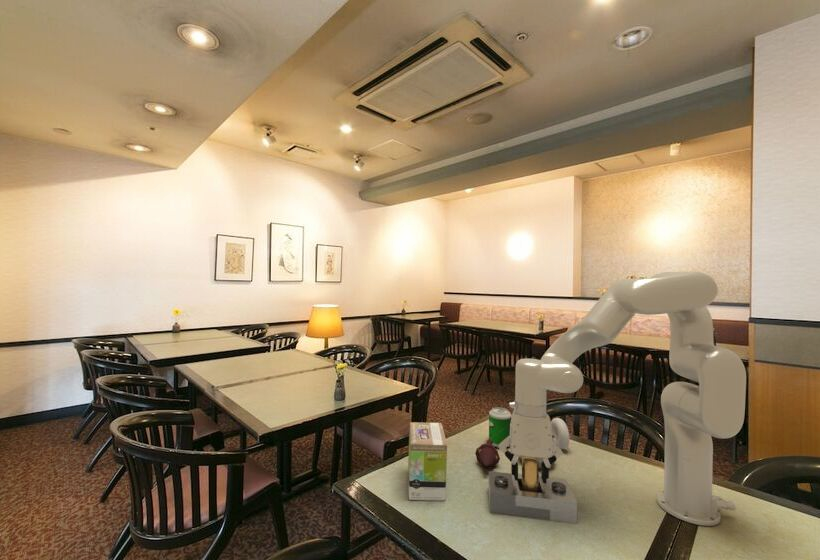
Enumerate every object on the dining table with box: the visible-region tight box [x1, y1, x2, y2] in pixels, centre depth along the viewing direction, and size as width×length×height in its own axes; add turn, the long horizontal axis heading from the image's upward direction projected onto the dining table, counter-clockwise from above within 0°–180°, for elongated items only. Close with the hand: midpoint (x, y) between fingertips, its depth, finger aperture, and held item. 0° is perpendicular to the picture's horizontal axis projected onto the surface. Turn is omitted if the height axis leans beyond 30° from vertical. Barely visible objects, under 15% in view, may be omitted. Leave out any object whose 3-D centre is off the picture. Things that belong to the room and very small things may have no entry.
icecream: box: [474, 438, 501, 469], centre depth 110 cm, size 7×7×15 cm
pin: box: [521, 456, 540, 493], centre depth 91 cm, size 4×4×12 cm
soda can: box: [488, 407, 512, 449], centre depth 124 cm, size 8×8×12 cm
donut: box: [550, 417, 571, 450], centre depth 122 cm, size 10×3×10 cm, turn 4°
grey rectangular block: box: [487, 470, 578, 524], centre depth 91 cm, size 20×10×6 cm, turn 80°
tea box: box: [407, 421, 448, 501], centre depth 99 cm, size 15×10×15 cm
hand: (529, 478), depth 91 cm, fingers open, 6 cm apart
